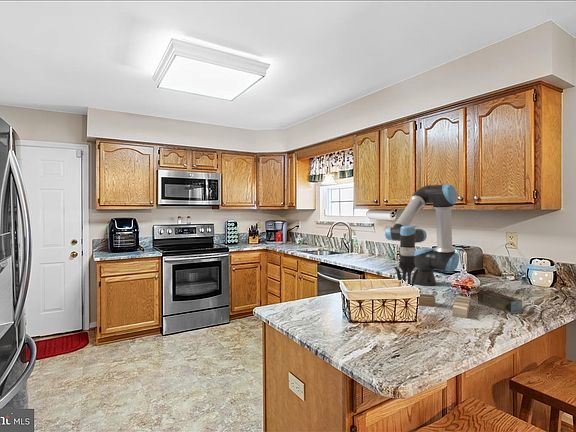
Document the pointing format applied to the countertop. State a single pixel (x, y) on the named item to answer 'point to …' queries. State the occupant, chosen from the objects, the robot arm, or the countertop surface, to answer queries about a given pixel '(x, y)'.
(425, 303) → the block
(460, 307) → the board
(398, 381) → the countertop surface
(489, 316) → the countertop surface
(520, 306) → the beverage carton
